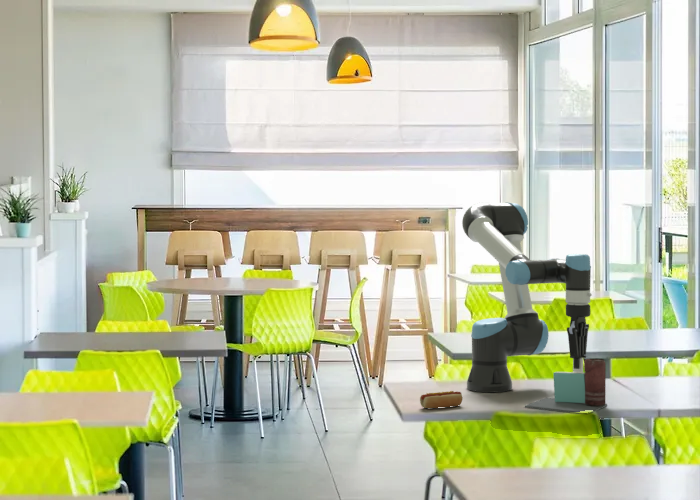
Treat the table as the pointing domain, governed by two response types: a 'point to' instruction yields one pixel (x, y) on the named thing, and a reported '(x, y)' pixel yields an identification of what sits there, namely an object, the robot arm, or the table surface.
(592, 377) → the can
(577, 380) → the tile
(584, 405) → the mat
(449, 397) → the food
